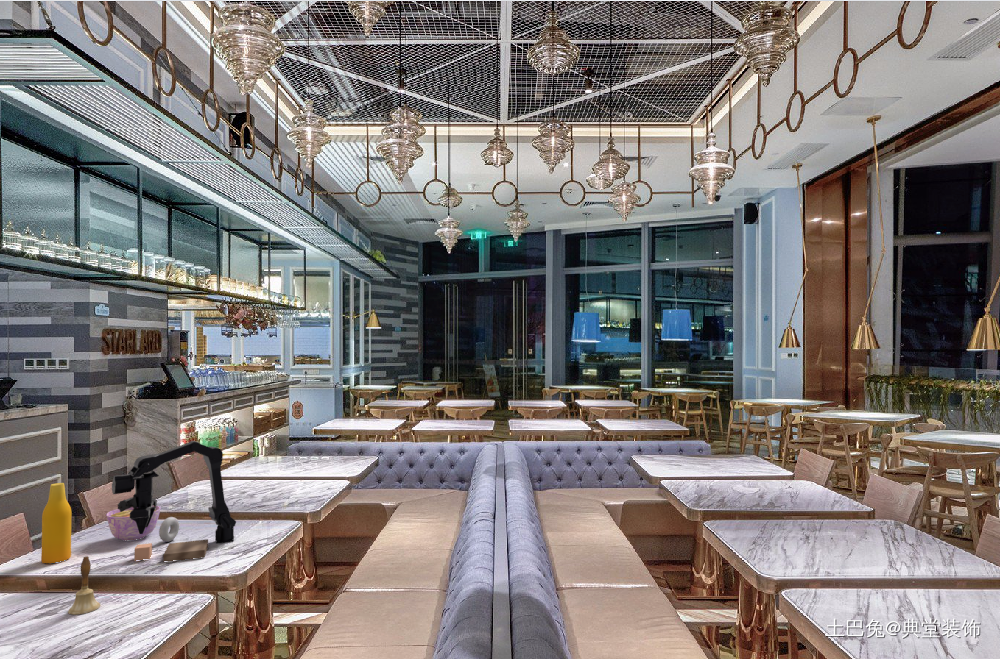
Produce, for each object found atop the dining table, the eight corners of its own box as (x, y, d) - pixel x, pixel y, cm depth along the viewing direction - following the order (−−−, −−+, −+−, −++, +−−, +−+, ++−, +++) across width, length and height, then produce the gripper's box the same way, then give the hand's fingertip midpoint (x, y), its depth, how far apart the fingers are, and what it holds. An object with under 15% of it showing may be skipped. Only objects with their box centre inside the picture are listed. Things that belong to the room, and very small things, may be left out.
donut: (164, 545, 245) (164, 520, 246) (156, 545, 246) (157, 520, 246) (181, 537, 255) (181, 514, 256) (173, 537, 256) (173, 513, 256)
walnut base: (208, 546, 243) (208, 539, 243) (204, 557, 230) (204, 549, 230) (169, 551, 238) (169, 543, 238) (163, 562, 225) (163, 554, 225)
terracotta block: (151, 556, 233) (152, 543, 233) (149, 560, 228) (149, 546, 229) (137, 557, 231) (137, 544, 231) (134, 562, 227) (134, 548, 227)
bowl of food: (96, 547, 244) (97, 518, 244) (117, 532, 263) (117, 506, 264) (150, 543, 248) (151, 515, 248) (167, 529, 267) (167, 503, 268)
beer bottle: (36, 565, 223) (37, 487, 224) (47, 557, 232) (49, 482, 233) (64, 563, 226) (66, 485, 227) (75, 555, 235) (76, 480, 236)
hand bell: (78, 604, 189) (79, 553, 189) (106, 602, 189) (106, 552, 190) (61, 615, 180) (62, 562, 181) (90, 614, 181) (91, 561, 182)
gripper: (125, 486, 237) (125, 526, 236) (113, 497, 219) (113, 540, 219) (157, 484, 241) (157, 523, 240) (148, 494, 223) (148, 536, 223)
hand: (143, 530), depth 230 cm, fingers open, 9 cm apart
